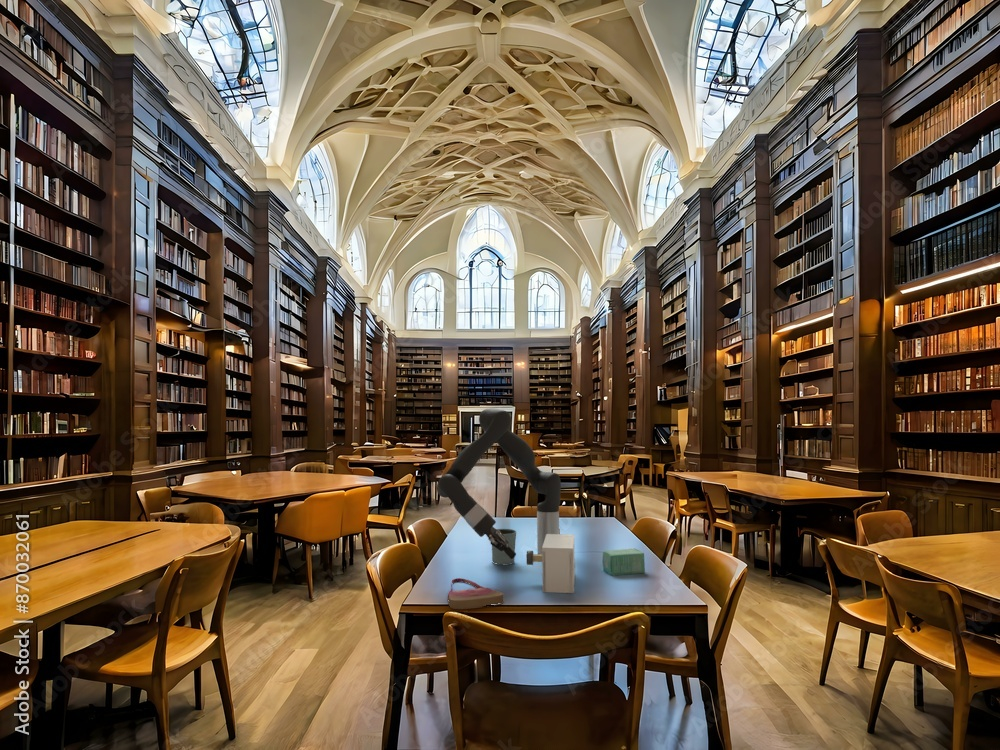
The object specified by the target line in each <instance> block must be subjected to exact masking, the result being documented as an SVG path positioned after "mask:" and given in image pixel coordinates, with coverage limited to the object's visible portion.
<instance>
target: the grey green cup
mask: <svg viewBox="0 0 1000 750" xmlns="http://www.w3.org/2000/svg"><path fill="white" fill-rule="evenodd" d="M495 529H496V530H497V529H498V530H499V531H501V532H502V534H503V535H504V537H505V538H506V540H507V541H508V543H509V547H510V548H511V549H512V550H513V551H514V552H515V553H516V539H517V530H516V529H513V528H495ZM491 553H492V555H491V556H492V557H491V558H492V559H491V561H493V562H494V563H497V564H510V563H513V562H514V563H515V557H516V556H515V557H514V558H513V559H511V558H510V557H509V556H508V555H507V554H506V553H505V552H503V551H502V552H501V551H500V550H498V549H497V548H496V547H494V546H493V545H491ZM493 562H492V563H493ZM494 563H493V564H494ZM514 563H513V564H514ZM497 564H496V565H497ZM510 565H511V564H510Z"/></svg>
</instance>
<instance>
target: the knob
mask: <svg viewBox="0 0 1000 750" xmlns="http://www.w3.org/2000/svg"><path fill="white" fill-rule="evenodd" d="M534 562H535V563H539V562H540V563H542V554H539V553H537V554H536V553H534V550H526V565H527V566H534Z"/></svg>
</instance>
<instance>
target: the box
mask: <svg viewBox="0 0 1000 750" xmlns="http://www.w3.org/2000/svg"><path fill="white" fill-rule="evenodd" d="M601 560H602V569H603V571H604V572H606V573H607V574H609V575H611V576H625V575H634V574H635V575H636V574H644V573H646V568H645V565H646V563H645V552H643V551H641V550H640V549H637V548H636V547H634V548H625V549H624V548H623V549H610V550H603V552H602V559H601Z"/></svg>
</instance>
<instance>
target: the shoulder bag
mask: <svg viewBox="0 0 1000 750" xmlns="http://www.w3.org/2000/svg"><path fill="white" fill-rule="evenodd" d="M455 581H463V582H462V583H465V582H467V583H466V584H468V583H470V584H469V585H471V584H472V585H471V586H473V585H474V586H473V587H475V586H476V587H477V588H476V587H475V588H469V589H459V590H453V589H450V590H449V591H448V593H447V601H448V600H449V602H448V607H449V606H450V607H449V608H450V609H454V610H469V609H477V608H483V607H482V606H486V605H491V604H498V603H502V602H503V603H504V593H503V592H501V591H499V590H496V589H492V588H489V587H485V586H482V585H480V584H478V583H477V582H475V581H473V580H469V579H465V578H457V577H456V578H454V579H452V580H451V584H452V583H453V582H454V583H456V582H455ZM454 583H453V584H454ZM503 603H502V604H503Z"/></svg>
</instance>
